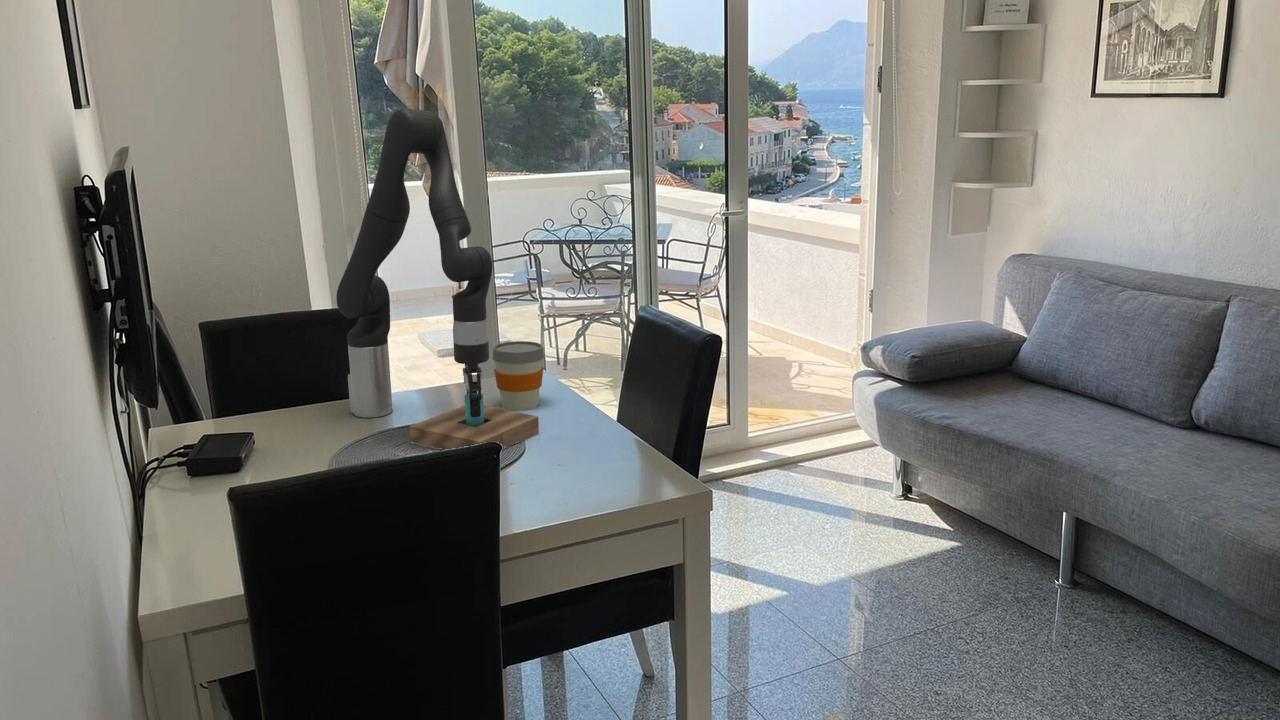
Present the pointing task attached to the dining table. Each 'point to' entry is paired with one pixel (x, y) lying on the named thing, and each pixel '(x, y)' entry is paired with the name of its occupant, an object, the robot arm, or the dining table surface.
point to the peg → (470, 420)
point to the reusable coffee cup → (518, 373)
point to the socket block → (474, 429)
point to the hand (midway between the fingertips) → (474, 410)
